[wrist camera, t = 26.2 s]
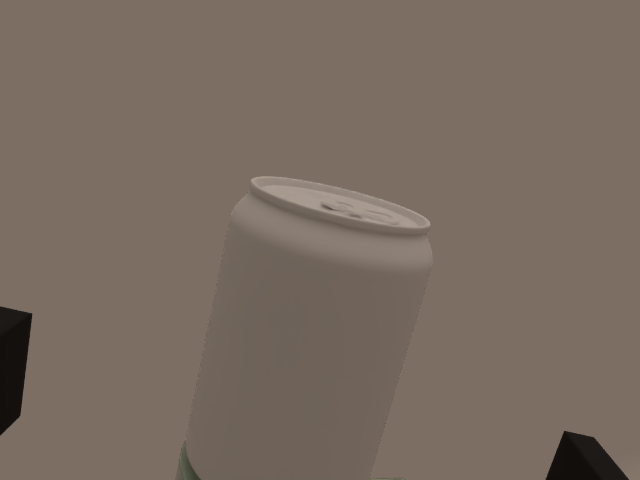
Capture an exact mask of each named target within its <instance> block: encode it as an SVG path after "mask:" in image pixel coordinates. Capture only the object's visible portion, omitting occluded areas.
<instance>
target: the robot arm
mask: <svg viewBox="0 0 640 480" xmlns="http://www.w3.org/2000/svg"><path fill="white" fill-rule="evenodd" d="M31 320H32V313H27V312H22V311H18V310H13V309H9V308H4V307H0V435H1V434H2V433H3V432H4V431H5V430H6V429H7V428H8V427H10V426H11V425H12V423H14V422H15V421H16V419H18V418H19V416H20V413H21V405H22V396H23V388H24V379H25V371H26V362H27V354H28V345H29V338H30V329H31ZM546 480H629V479H628V478H627V477H626V476H625V474H624V473H623V472H622V471H621V469H620V468H619V467H618V466H617V465H616V464H615V462H614V461H613V460H612V459H611V457H610V456H609V455H608V454H607V453H606V451H605V450H604V449H603V448H602V447H601V445H600V444H599V443H598V442H597V441H596V439H595V438H594V437H590V436H585V435H581V434H576V433H572V432H567V431H564V433H563V436H562V438H561V441H560V443H559V446H558V449H557V451H556V454H555V457H554V459H553V462H552V464H551V467H550V470H549V472H548V475H547V478H546Z"/></svg>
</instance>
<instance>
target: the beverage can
mask: <svg viewBox="0 0 640 480" xmlns="http://www.w3.org/2000/svg"><path fill="white" fill-rule="evenodd" d="M250 189H251V190H250V191H249V192H248V193H247V194H246V195H245V196H244V197H243V198H242V199H241V200H240V201H239V202H238V203H237V204H236V205H235V207H234V208H233V210H232V212H231V215H230V220H229V225H228V230H227V235H226V240H225V245H224V250H223V255H222V260H221V265H220V270H219V275H218V280H217V285H216V290H215V295H214V300H213V305H212V310H211V315H210V320H209V325H208V330H207V335H206V339H205V345H204V350H203V354H202V359H201V364H200V369H199V375H198V380H197V384H196V389H195V395H194V399H193V404H192V409H191V414H190V420H189V424H188V429H187V434H186V452H187V456H188V459H189V462H190V464H191V466H192V468H193V470H194V471H195V473H196V474H197V476H198V477H199V478H200V479H201V480H369V478H370V475H371V471H372V468H373V464H374V461H375V457H376V454H377V451H378V447H379V444H380V441H381V437H382V434H383V430H384V427H385V424H386V421H387V417H388V414H389V410H390V407H391V404H392V400H393V397H394V394H395V390H396V387H397V383H398V380H399V376H400V373H401V370H402V366H403V363H404V360H405V356H406V353H407V350H408V346H409V343H410V339H411V336H412V332H413V329H414V326H415V322H416V319H417V316H418V312H419V309H420V306H421V302H422V299H423V296H424V292H425V289H426V285H427V282H428V278H429V275H430V272H431V268H432V265H433V254H432V250H431V246H430V243H429V240H428V238H427V234H426V233H427V232H428V231H429V229H430V222H429V220H427V219H426V218H425V217H423V216H422V215H420V214H418V213H416V212H414V211H411V210H409V209H407V208H405V207H402V206H399V205H397V204H394V203H391V202H388V201H385V200H382V199H379V198H376V197H372V196H369V195H366V194H362V193H358V192H355V191H351V190H347V189H343V188H339V187H334V186H330V185H325V184H321V183H315V182H310V181H304V180H299V179H292V178H284V177H270V176H268V177H267V176H264V177H255V178H253V179H252V180H251V182H250Z"/></svg>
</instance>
